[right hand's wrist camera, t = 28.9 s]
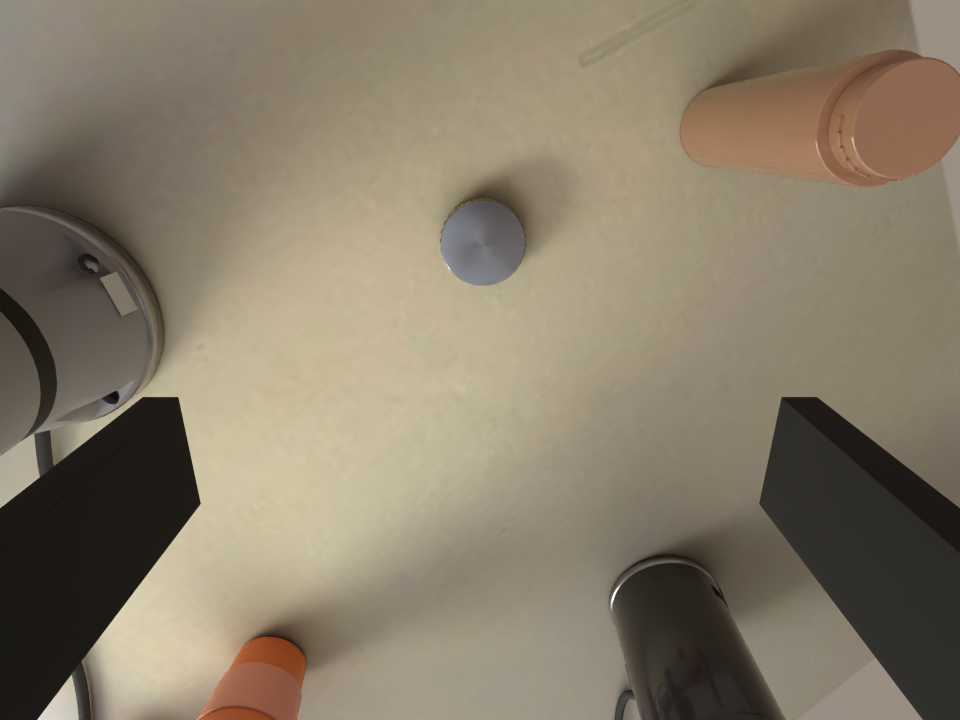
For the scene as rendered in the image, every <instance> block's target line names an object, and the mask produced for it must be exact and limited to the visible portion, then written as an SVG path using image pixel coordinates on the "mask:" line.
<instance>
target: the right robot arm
mask: <svg viewBox="0 0 960 720" xmlns="http://www.w3.org/2000/svg"><path fill="white" fill-rule="evenodd" d="M162 348H163V323H162V318H161V313H160V309H159V306H158V303H157V300H156V297H155V295H154V293H153V291H152V289H151V286H150V284H149V283H148V281H147V279H146V278H145V276H144V274H143V273H142V272H141V270H140V269H139V267H138V266H137V265H136V263H135V262H134V261H133V260H132V259H131V257H130V256H129V255H128V254H127V253H126V252H125V251H124V250H123V249H122V248H121V247H120V246H119V245H118V244H116V243H115V242H114V241H113V240H112V239H111V238H109V237H108V236H107V235H105V234H104V233H102V232H101V231H100V230H98V229H96V228H95V227H93V226H92V225H90V224H88V223H86V222H84V221H82V220H80V219H78V218H76V217H73V216H71V215H68V214H65V213H62V212H59V211H56V210H52V209H47V208H42V207H34V206H13V207H5V208H0V455H2V454H3V453H5V452H6V451H8V450H9V449H11V448H12V447H13V446H15V445H16V444H17V443H19V442H20V441H22V440H23V439H25V438H26V437H28V436H29V435H31V434H35V445H36V454H37V462H38V468H39V473H40V478H39V479H37V480H36V481H35V482H33V483H32V484H31V485H30V486H28V487H27V488H26V489H24V490H23V491H22V492H21V493H19V494H18V495H17V496H15V497H14V498H13V499H12V500H10V501H9V502H8V503H6V504H5V505H4V506H3V507H1V508H0V720H37V719H38V718H39V716H40V715H41V714H42V713H43V711H44V710H45V709H46V707H47V706H48V705H49V703H50V702H51V701H52V699H53V698H54V697H55V695H56V694H57V693H58V691H59V690H60V689H61V687H62V686H63V685H64V683H65V682H66V681H67V680H68V678H69V677H70V676H71V674H72V678H73V682H74V686H75V691H76V697H77V704H78V713H79V720H91V711H90V700H89V692H88V686H87V681H86V676H85V672H84V668H83V665H82V662H81V661H82V660H83V658H84V657H85V656H86V654H87V653H88V652H89V651H90V649H91V648H92V647H93V645H94V644H95V643H96V641H97V640H98V639H99V637H100V636H101V635H102V633H103V632H104V631H105V629H106V628H107V627H108V625H109V624H110V623H111V621H112V620H113V619H114V618H115V616H116V615H117V614H118V612H119V611H120V610H121V608H122V607H123V606H124V604H125V603H126V602H127V600H128V599H129V598H130V596H131V595H132V594H133V592H134V591H135V590H136V588H137V587H138V586H139V585H140V583H141V582H142V581H143V579H144V578H145V577H146V575H147V574H148V573H149V571H150V570H151V569H152V567H153V566H154V565H155V563H156V562H157V561H158V559H159V558H160V557H161V555H162V554H163V553H164V552H165V550H166V549H167V548H168V546H169V545H170V544H171V542H172V541H173V540H174V538H175V537H176V536H177V534H178V533H179V532H180V530H181V529H182V528H183V526H184V525H185V524H186V522H187V521H188V520H189V519H190V517H191V516H192V515H193V513H194V512H195V511H196V509H197V508H198V507H199V505H200V504H201V503H200V498H199V493H198V489H197V484H196V479H195V474H194V470H193V465H192V460H191V455H190V451H189V446H188V441H187V436H186V432H185V427H184V422H183V417H182V413H181V408H180V403H179V398H178V397H143V398H141V399H140V400H139V401H138V402H136V403H135V404H134V405H132V406H131V407H130V408H129V409H127V410H126V411H125V412H123V413H122V414H121V415H120V416H118V417H117V418H116V419H114V420H113V421H112V422H111V423H109V424H108V425H107V426H105V427H104V428H103V429H102V430H100V431H99V432H98V433H96V434H95V435H94V436H93V437H91V438H90V439H89V440H87V441H86V442H85V443H84V444H82V445H81V446H80V447H78V448H77V449H76V450H75V451H73V452H72V453H71V454H69V455H68V456H67V457H66V458H64V459H63V460H62V461H60V462H59V463H58V464H57V465H55V466H54V465H53V458H52V449H51V437H50V430H52V429H56V428H60V427H64V426H68V425H73V424H77V423H81V422H86V421H90V420H94V419H97V418H100V417H103V416H105V415H107V414H109V413H111V412H113V411H115V410H116V409H118V408H119V407H121V406H122V405H124V404H125V403H126V402H128V401H129V400H130V399H131V398H133V397H134V396H135V395H137V394H138V393H139V392H140V391H141V390H142V389H143V388H144V387H145V386H146V385H147V384H148V382H149V381H150V380H151V378H152V376H153V375H154V373H155V371H156V369H157V367H158V364H159V361H160V358H161V354H162ZM759 504H760V505H761V507H762V508H763V509H764V511H765V512H766V513H767V515H768V516H769V517H770V519H771V520H772V521H773V522H774V524H775V525H776V526H777V528H778V529H779V530H780V532H781V533H782V534H783V536H784V537H785V538H786V540H787V541H788V542H789V544H790V545H791V546H792V548H793V549H794V550H795V552H796V553H797V554H798V555H799V557H800V558H801V559H802V561H803V562H804V563H805V565H806V566H807V567H808V569H809V570H810V571H811V573H812V574H813V575H814V577H815V578H816V579H817V581H818V582H819V583H820V585H821V586H822V587H823V588H824V590H825V591H826V592H827V594H828V595H829V596H830V598H831V599H832V600H833V602H834V603H835V604H836V606H837V607H838V608H839V610H840V611H841V612H842V614H843V615H844V616H845V618H846V619H847V620H848V621H849V623H850V624H851V625H852V627H853V628H854V629H855V631H856V632H857V633H858V635H859V636H860V637H861V639H862V640H863V641H864V643H865V644H866V645H867V647H868V648H869V649H870V651H871V652H872V653H873V654H874V656H875V657H876V658H877V660H878V661H879V662H880V664H881V665H882V666H883V668H884V669H885V670H886V672H887V673H888V674H889V675H890V677H891V678H892V679H893V681H894V682H895V683H896V685H897V686H898V687H899V689H900V690H901V691H902V693H903V694H904V695H905V697H906V698H907V699H908V701H909V702H910V703H911V705H912V706H913V707H914V709H915V710H916V711H917V713H918V714H919V715H920V716H921V718H922V719H923V720H960V508H959V507H957V506H956V505H955V504H954V503H952V502H951V501H950V500H948V499H947V498H946V497H945V496H943V495H942V494H941V493H939V492H938V491H937V490H936V489H934V488H933V487H932V486H930V485H929V484H928V483H927V482H925V481H924V480H923V479H921V478H920V477H919V476H918V475H916V474H915V473H914V472H912V471H911V470H910V469H909V468H907V467H906V466H905V465H903V464H902V463H901V462H900V461H898V460H897V459H896V458H894V457H893V456H892V455H891V454H889V453H888V452H887V451H885V450H884V449H883V448H882V447H880V446H879V445H878V444H876V443H875V442H874V441H873V440H871V439H870V438H869V437H867V436H866V435H865V434H864V433H862V432H861V431H860V430H858V429H857V428H856V427H855V426H853V425H852V424H851V423H849V422H848V421H847V420H846V419H844V418H843V417H842V416H840V415H839V414H838V413H837V412H835V411H834V410H833V409H831V408H830V407H829V406H828V405H826V404H825V403H824V402H822V401H821V400H820V399H819V398H817V397H782V398H781V403H780V408H779V413H778V417H777V422H776V427H775V432H774V436H773V441H772V446H771V451H770V455H769V460H768V465H767V470H766V474H765V479H764V484H763V489H762V493H761V498H760V503H759Z"/></svg>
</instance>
